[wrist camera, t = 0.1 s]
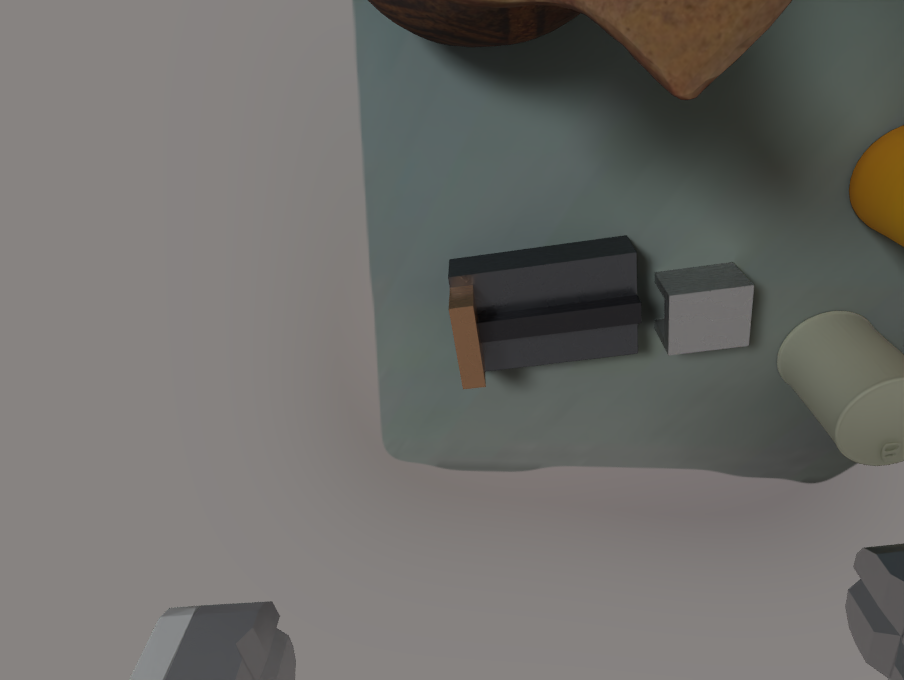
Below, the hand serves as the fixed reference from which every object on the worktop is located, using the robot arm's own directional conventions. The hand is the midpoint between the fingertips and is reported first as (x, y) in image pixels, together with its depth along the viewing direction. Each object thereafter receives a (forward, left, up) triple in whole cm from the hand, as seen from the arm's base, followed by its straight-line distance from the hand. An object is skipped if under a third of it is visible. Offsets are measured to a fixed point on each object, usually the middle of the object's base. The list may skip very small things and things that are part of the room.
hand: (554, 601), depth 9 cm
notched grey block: (+21, +17, -48) cm, 55 cm away
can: (+29, +30, -48) cm, 64 cm away
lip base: (+19, +3, -48) cm, 52 cm away
